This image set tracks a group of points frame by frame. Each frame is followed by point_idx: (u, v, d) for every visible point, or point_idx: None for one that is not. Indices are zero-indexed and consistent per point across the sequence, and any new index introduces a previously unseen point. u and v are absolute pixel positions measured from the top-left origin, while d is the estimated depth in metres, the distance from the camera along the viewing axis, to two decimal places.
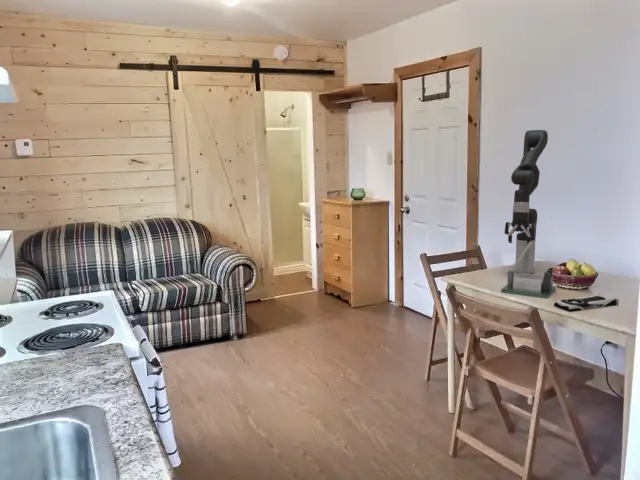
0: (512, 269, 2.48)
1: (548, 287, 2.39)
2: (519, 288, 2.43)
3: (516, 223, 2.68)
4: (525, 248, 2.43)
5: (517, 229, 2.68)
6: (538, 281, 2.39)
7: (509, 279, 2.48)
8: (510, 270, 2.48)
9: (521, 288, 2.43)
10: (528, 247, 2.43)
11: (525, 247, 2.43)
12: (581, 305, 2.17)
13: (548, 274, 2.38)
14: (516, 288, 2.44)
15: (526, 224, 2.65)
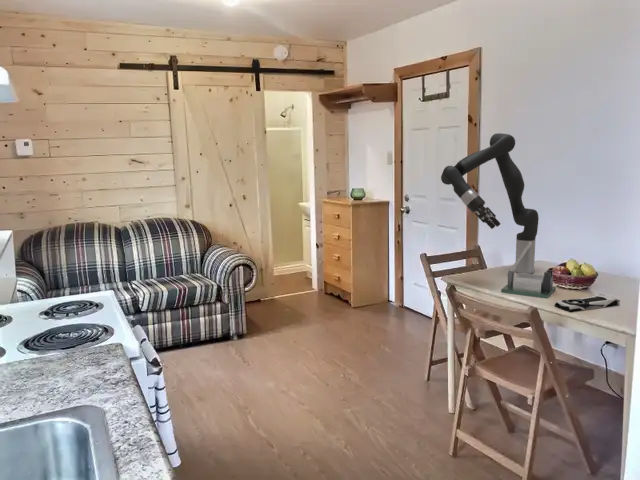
0: (512, 269, 2.48)
1: (548, 287, 2.39)
2: (519, 288, 2.43)
3: None
4: (525, 248, 2.43)
5: None
6: (538, 281, 2.39)
7: (509, 279, 2.48)
8: (510, 270, 2.48)
9: (521, 288, 2.43)
10: (528, 247, 2.43)
11: (525, 247, 2.43)
12: (582, 305, 2.17)
13: (548, 274, 2.38)
14: (516, 288, 2.44)
15: None
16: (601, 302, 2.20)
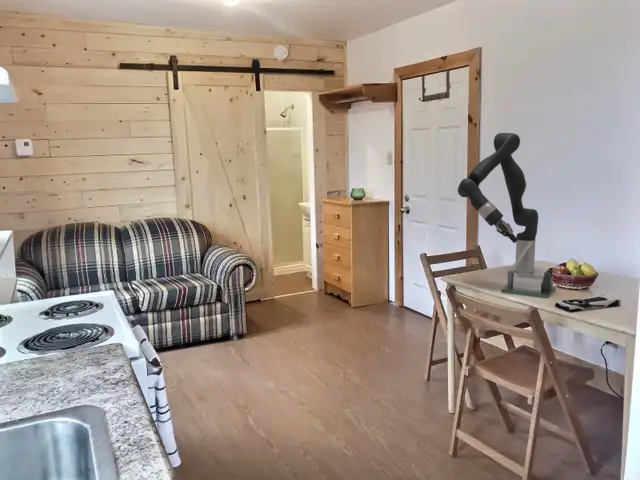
0: (512, 269, 2.48)
1: (548, 287, 2.39)
2: (519, 288, 2.43)
3: None
4: (525, 248, 2.43)
5: None
6: (538, 281, 2.39)
7: (509, 279, 2.48)
8: (510, 270, 2.48)
9: (521, 288, 2.43)
10: (528, 247, 2.43)
11: (525, 247, 2.43)
12: (582, 305, 2.16)
13: (548, 274, 2.38)
14: (516, 288, 2.44)
15: None
16: (602, 302, 2.19)
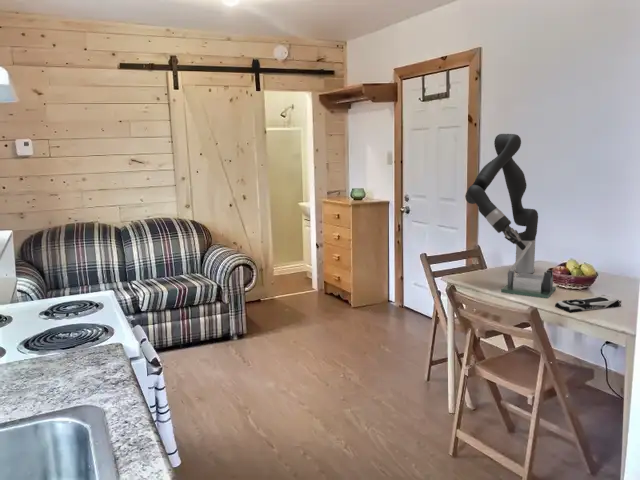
0: (512, 269, 2.48)
1: (548, 287, 2.39)
2: (519, 288, 2.43)
3: None
4: (525, 248, 2.43)
5: None
6: (538, 281, 2.39)
7: (509, 279, 2.48)
8: (510, 270, 2.48)
9: (521, 288, 2.43)
10: (528, 247, 2.43)
11: (525, 247, 2.43)
12: (582, 306, 2.16)
13: (548, 274, 2.38)
14: (516, 288, 2.44)
15: None
16: (602, 303, 2.19)
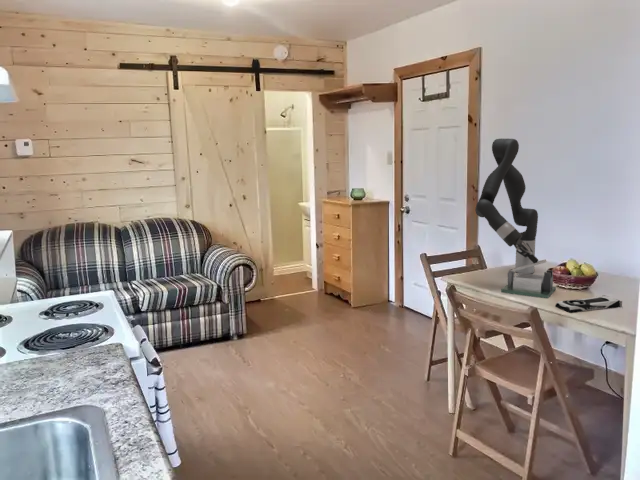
0: (513, 271, 2.48)
1: (548, 287, 2.39)
2: (519, 288, 2.43)
3: None
4: (537, 262, 2.41)
5: None
6: (538, 281, 2.39)
7: (509, 279, 2.48)
8: (511, 270, 2.48)
9: (521, 288, 2.43)
10: (540, 263, 2.41)
11: (538, 262, 2.41)
12: (582, 306, 2.16)
13: (548, 274, 2.38)
14: (516, 288, 2.44)
15: None
16: (603, 303, 2.18)
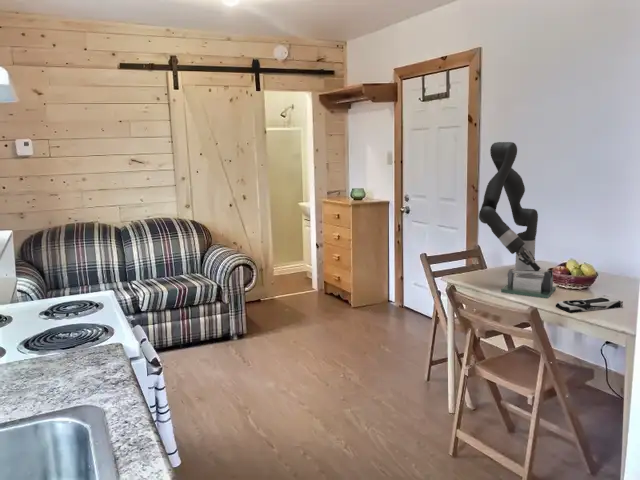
0: (513, 272, 2.48)
1: (548, 287, 2.39)
2: (519, 288, 2.43)
3: None
4: (540, 272, 2.41)
5: None
6: (538, 281, 2.39)
7: (509, 279, 2.48)
8: (511, 271, 2.48)
9: (521, 288, 2.43)
10: (542, 273, 2.41)
11: (540, 271, 2.41)
12: (582, 306, 2.15)
13: (548, 274, 2.38)
14: (516, 288, 2.44)
15: None
16: (603, 303, 2.18)
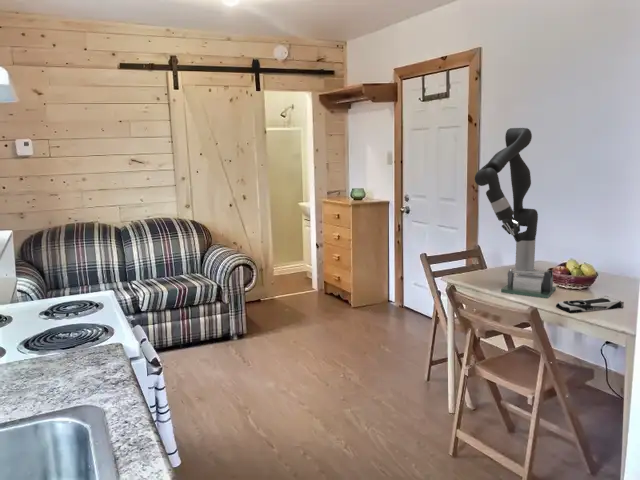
0: (513, 272, 2.48)
1: (548, 287, 2.39)
2: (519, 288, 2.43)
3: (504, 221, 2.53)
4: (540, 272, 2.41)
5: None
6: (538, 281, 2.39)
7: (509, 279, 2.48)
8: (511, 271, 2.48)
9: (521, 288, 2.43)
10: (542, 273, 2.41)
11: (540, 271, 2.41)
12: (583, 307, 2.15)
13: (548, 274, 2.38)
14: (516, 288, 2.44)
15: (510, 221, 2.48)
16: (604, 304, 2.17)
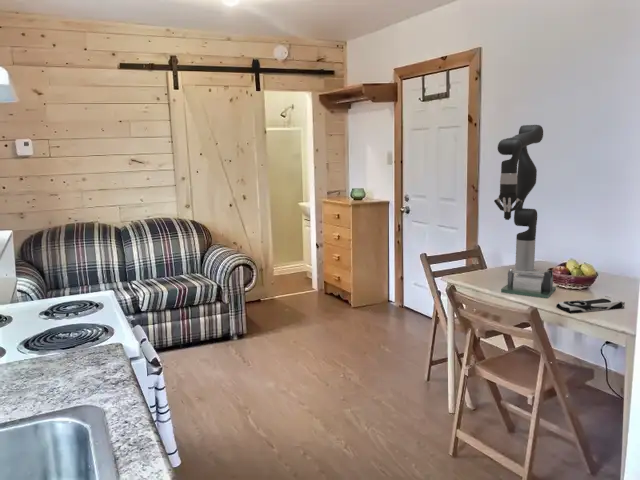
0: (513, 272, 2.48)
1: (548, 287, 2.39)
2: (519, 288, 2.43)
3: (504, 196, 2.54)
4: (540, 272, 2.41)
5: (507, 201, 2.53)
6: (538, 281, 2.39)
7: (509, 279, 2.48)
8: (511, 271, 2.48)
9: (521, 288, 2.43)
10: (542, 273, 2.41)
11: (540, 271, 2.41)
12: (583, 307, 2.15)
13: (548, 274, 2.38)
14: (516, 288, 2.44)
15: (514, 197, 2.51)
16: (604, 304, 2.17)
